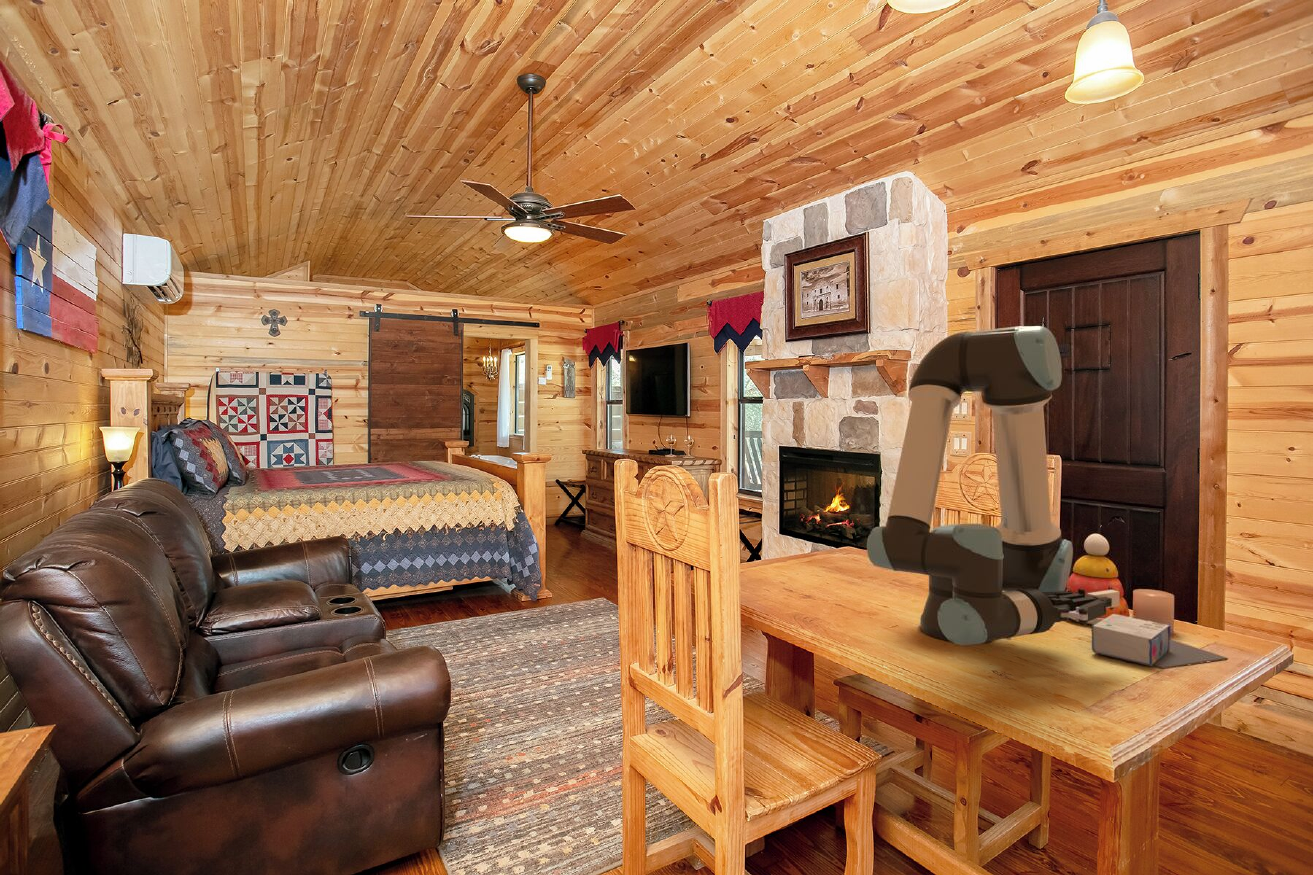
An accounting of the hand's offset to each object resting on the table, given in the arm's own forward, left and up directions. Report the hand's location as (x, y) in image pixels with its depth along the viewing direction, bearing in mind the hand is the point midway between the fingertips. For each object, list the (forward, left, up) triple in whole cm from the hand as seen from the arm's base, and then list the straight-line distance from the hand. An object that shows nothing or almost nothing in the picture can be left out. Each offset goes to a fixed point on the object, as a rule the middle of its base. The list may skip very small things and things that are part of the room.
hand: (1115, 597), depth 122 cm
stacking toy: (-23, +20, -13) cm, 33 cm away
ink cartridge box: (-1, +3, -10) cm, 10 cm away
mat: (-2, +15, -13) cm, 19 cm away
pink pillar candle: (-13, +26, -13) cm, 32 cm away
